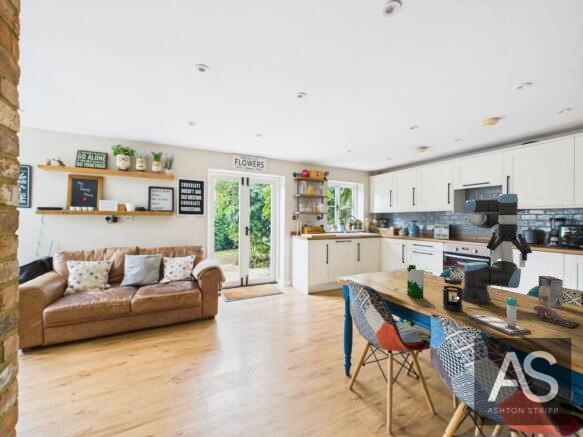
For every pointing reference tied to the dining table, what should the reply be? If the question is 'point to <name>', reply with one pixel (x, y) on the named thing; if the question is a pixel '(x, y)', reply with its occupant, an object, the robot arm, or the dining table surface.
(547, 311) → the purple oval lump
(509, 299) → the marker
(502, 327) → the tablet
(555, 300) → the coffee box
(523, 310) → the dining table surface
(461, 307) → the black lantern
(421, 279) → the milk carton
